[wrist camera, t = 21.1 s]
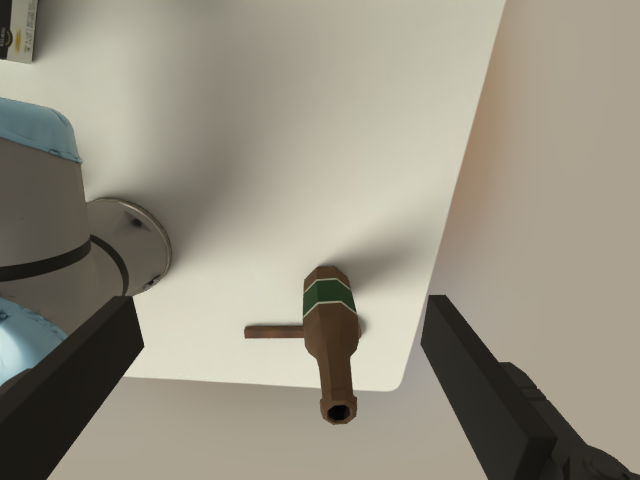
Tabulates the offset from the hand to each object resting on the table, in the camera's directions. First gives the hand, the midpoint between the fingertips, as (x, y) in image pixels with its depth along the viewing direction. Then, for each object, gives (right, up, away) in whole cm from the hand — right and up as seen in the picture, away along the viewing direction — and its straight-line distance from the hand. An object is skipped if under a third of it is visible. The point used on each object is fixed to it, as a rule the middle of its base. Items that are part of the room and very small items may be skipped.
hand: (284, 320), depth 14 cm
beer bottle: (+3, -4, +37) cm, 37 cm away
